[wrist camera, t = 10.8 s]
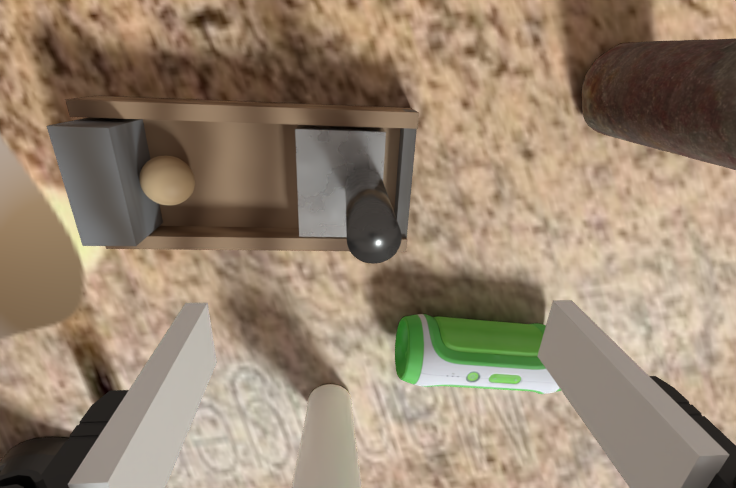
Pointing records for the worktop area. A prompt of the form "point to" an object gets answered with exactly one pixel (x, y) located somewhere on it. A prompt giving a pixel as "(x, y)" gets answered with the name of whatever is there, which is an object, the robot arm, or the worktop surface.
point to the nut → (167, 180)
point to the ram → (346, 189)
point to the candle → (667, 97)
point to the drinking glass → (328, 442)
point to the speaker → (471, 354)
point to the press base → (210, 170)
